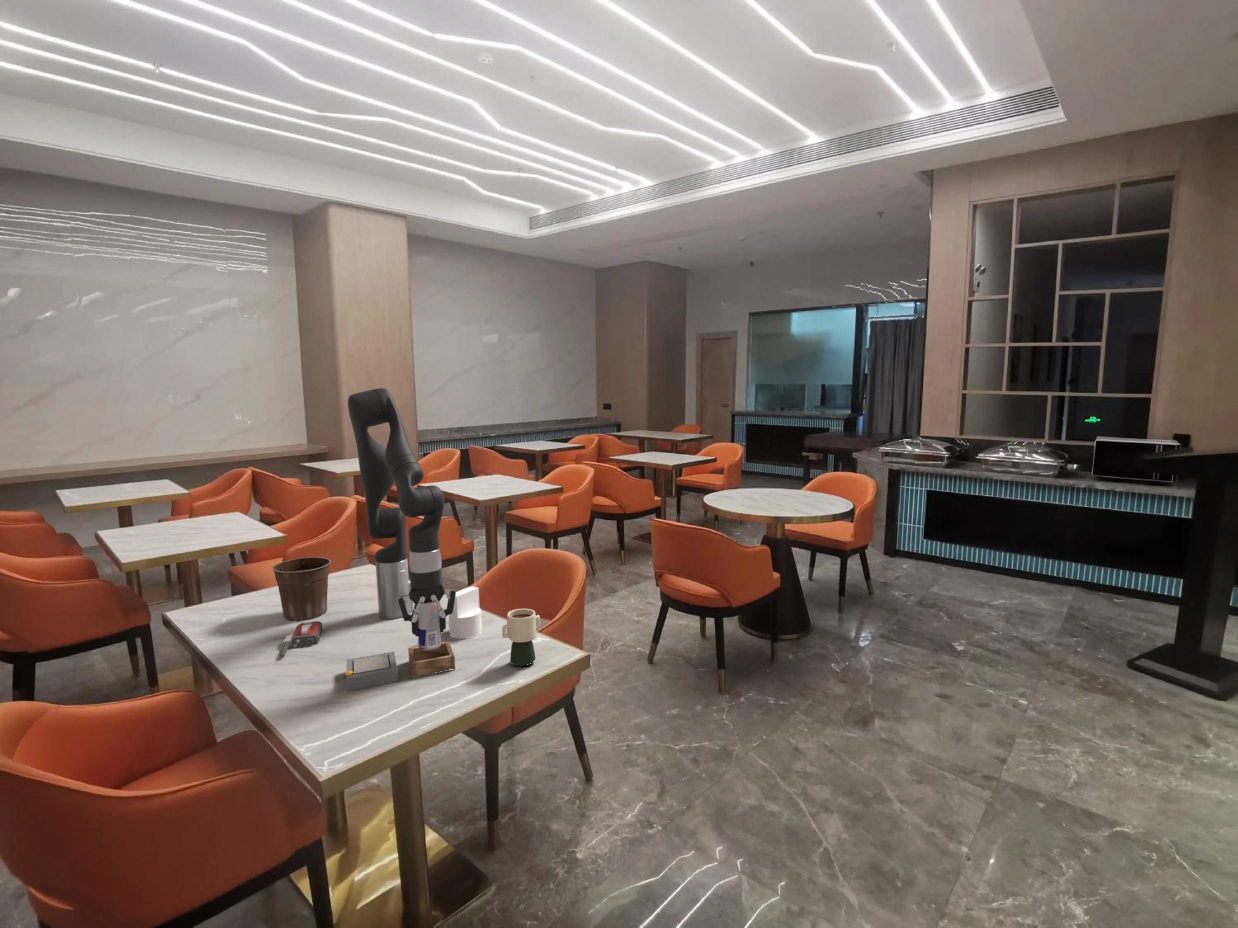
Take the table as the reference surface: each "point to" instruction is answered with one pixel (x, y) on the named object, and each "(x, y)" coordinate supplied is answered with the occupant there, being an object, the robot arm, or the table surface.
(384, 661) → the pad
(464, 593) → the base with upright slab
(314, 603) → the plant pot
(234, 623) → the table surface
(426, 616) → the energy drink
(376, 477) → the robot arm
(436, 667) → the walnut holder
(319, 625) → the walkie-talkie
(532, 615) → the character mug
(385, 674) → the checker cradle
